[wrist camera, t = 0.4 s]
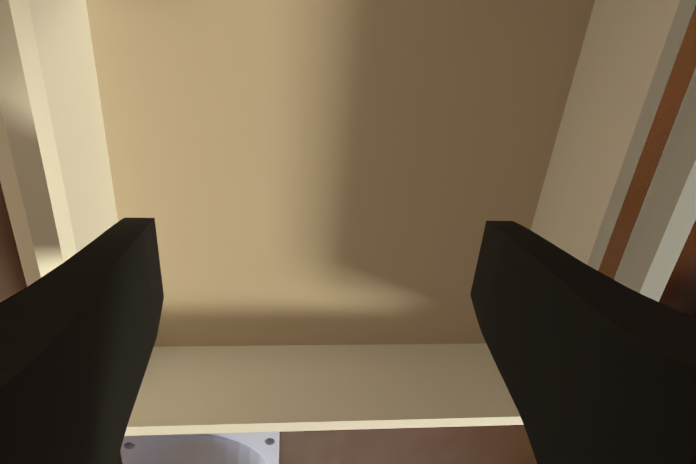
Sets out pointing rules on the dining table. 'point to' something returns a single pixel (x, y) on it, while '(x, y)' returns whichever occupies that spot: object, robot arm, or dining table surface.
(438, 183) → the carton
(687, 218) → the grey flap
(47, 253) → the cream flap
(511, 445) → the dining table surface
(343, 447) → the dining table surface
